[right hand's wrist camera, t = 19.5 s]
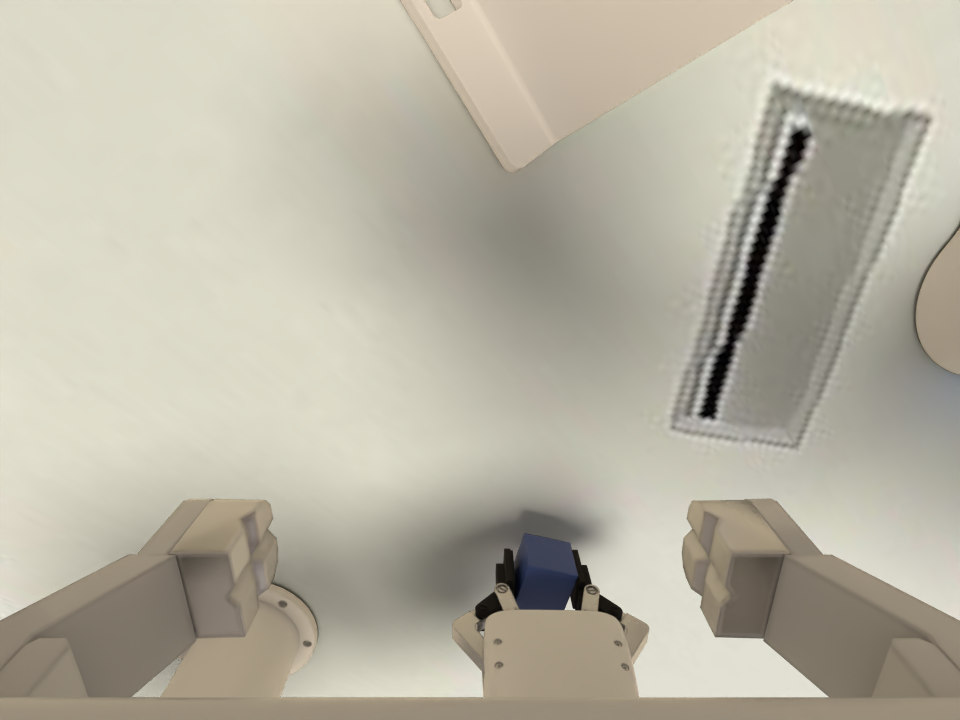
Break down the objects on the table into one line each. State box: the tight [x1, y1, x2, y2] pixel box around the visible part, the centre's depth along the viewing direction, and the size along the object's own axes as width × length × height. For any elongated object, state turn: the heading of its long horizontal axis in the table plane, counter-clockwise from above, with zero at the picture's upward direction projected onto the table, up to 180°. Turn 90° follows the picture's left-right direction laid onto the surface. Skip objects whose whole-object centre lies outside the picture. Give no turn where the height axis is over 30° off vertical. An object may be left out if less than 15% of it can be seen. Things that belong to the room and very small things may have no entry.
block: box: [514, 533, 578, 610], centre depth 46 cm, size 4×5×4 cm
